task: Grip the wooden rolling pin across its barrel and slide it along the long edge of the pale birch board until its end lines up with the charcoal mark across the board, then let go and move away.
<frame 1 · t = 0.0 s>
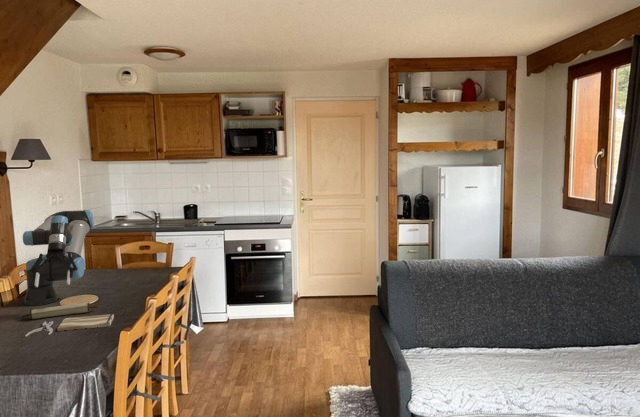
hand: (52, 285, 220), 15 cm above the table, tool tilted 35°, fingers open, 13 cm apart
pliers: (43, 330, 205), on the table
marking board: (87, 323, 211), on the table
rolling pin: (61, 316, 223), on the table
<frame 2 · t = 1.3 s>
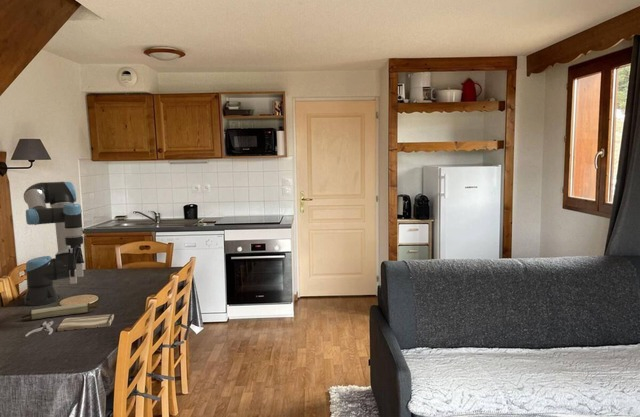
hand: (76, 279, 224), 17 cm above the table, tool pointing down, fingers open, 13 cm apart
nothing on the table moved.
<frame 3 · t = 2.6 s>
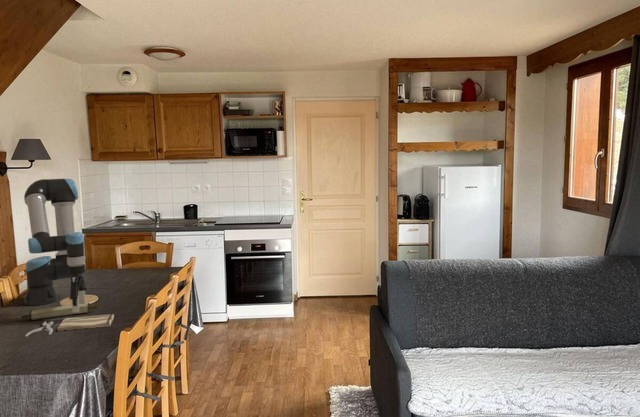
hand: (79, 307, 225), 3 cm above the table, tool pointing down, fingers open, 13 cm apart
nothing on the table moved.
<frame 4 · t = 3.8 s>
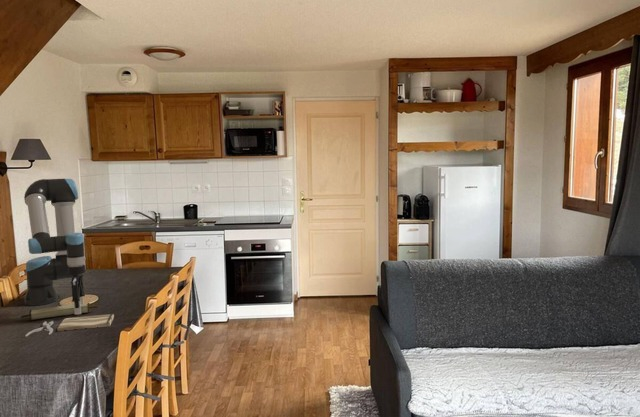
hand: (79, 312, 225), 1 cm above the table, tool pointing down, fingers closed on rolling pin, 6 cm apart
rolling pin: (60, 316, 222), on the table, touching gripper
everything else where it was.
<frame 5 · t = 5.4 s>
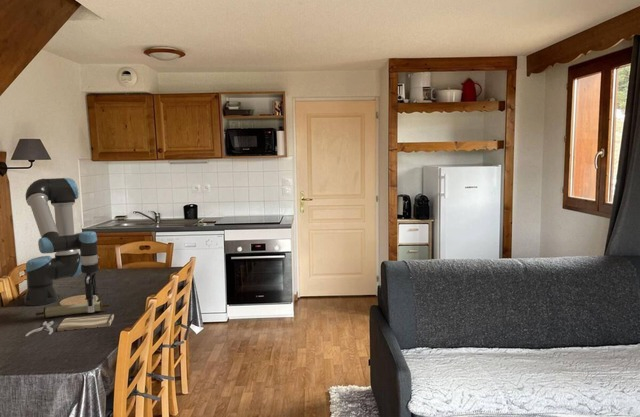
hand: (92, 310, 227), 1 cm above the table, tool pointing down, fingers closed on rolling pin, 5 cm apart
rolling pin: (74, 314, 224), on the table, touching gripper
everything else where it was.
when the fingers open (1 cm above the table, at t = 6.9 s): rolling pin stays where it is, on the table.
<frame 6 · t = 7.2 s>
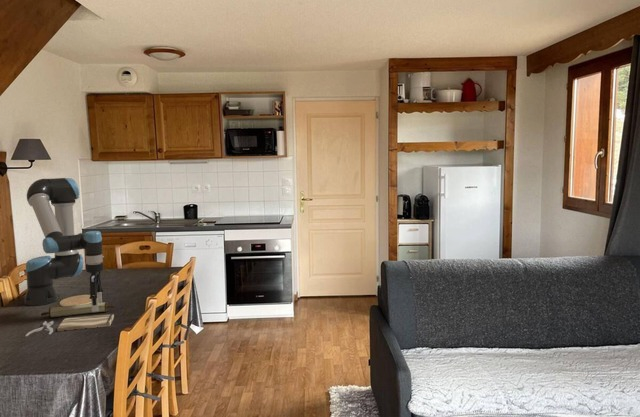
hand: (97, 308, 227), 2 cm above the table, tool pointing down, fingers open, 9 cm apart
rolling pin: (79, 315, 225), on the table
everything else where it was.
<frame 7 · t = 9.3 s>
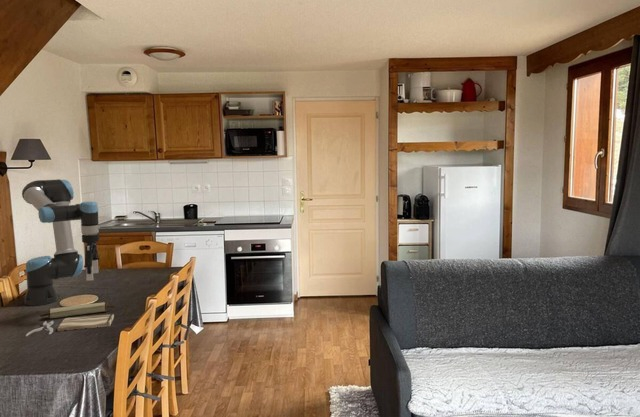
hand: (92, 276, 227), 18 cm above the table, tool pointing down, fingers open, 13 cm apart
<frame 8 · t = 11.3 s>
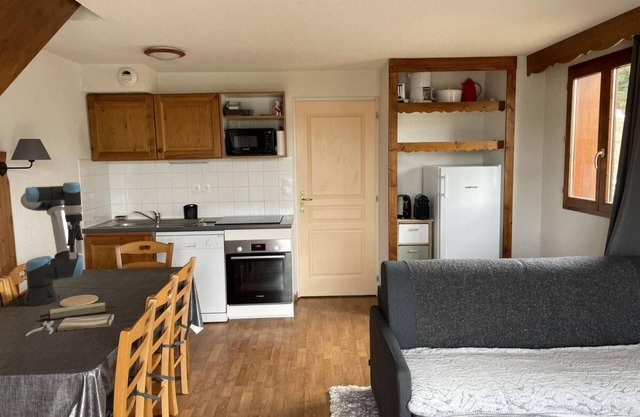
hand: (76, 255, 232), 27 cm above the table, tool pointing down, fingers open, 13 cm apart
at the end: rolling pin moved 8.6 cm from its start; rolling pin inside the target area (2.5 cm from its centre), on the table; the gripper is holding nothing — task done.
